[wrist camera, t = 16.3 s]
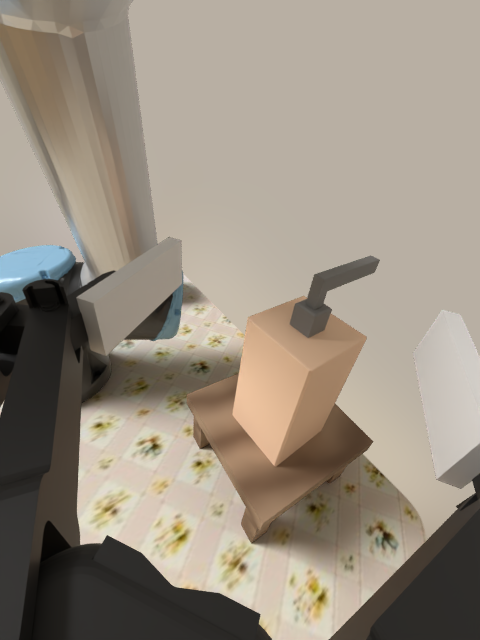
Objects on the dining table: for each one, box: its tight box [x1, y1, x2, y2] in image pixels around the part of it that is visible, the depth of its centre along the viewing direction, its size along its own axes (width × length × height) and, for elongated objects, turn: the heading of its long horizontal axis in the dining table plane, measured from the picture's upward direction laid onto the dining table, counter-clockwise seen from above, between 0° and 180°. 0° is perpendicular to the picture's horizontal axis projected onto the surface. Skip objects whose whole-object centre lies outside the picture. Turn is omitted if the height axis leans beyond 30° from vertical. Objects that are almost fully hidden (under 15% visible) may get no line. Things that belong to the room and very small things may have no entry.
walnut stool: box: [187, 373, 373, 543], centre depth 42 cm, size 18×18×10 cm
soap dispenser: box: [232, 256, 380, 466], centre depth 33 cm, size 13×9×22 cm
